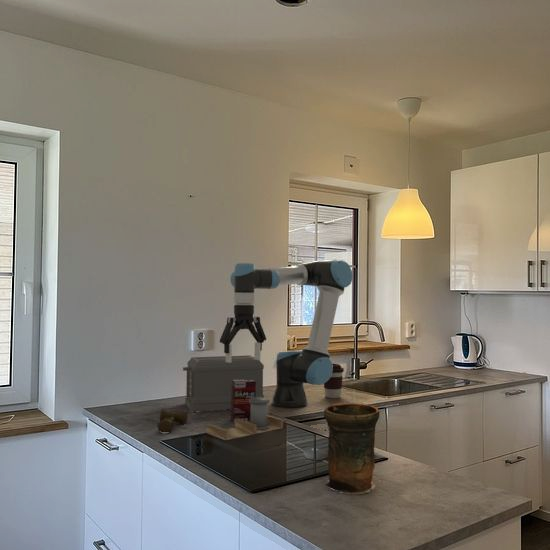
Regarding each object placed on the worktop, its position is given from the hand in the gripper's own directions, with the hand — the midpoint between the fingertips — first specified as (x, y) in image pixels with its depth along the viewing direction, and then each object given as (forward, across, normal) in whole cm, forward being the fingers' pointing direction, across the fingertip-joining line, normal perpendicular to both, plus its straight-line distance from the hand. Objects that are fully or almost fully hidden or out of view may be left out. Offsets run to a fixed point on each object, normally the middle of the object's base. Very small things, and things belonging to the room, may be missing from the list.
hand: (243, 361), depth 210 cm
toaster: (+23, -12, -29) cm, 39 cm away
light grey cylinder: (+22, +2, +12) cm, 25 cm away
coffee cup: (+23, -62, -13) cm, 68 cm away
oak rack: (+23, +8, +12) cm, 28 cm away
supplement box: (+23, 0, 0) cm, 23 cm away
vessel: (+24, +18, +70) cm, 76 cm away
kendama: (+24, +23, -12) cm, 35 cm away
